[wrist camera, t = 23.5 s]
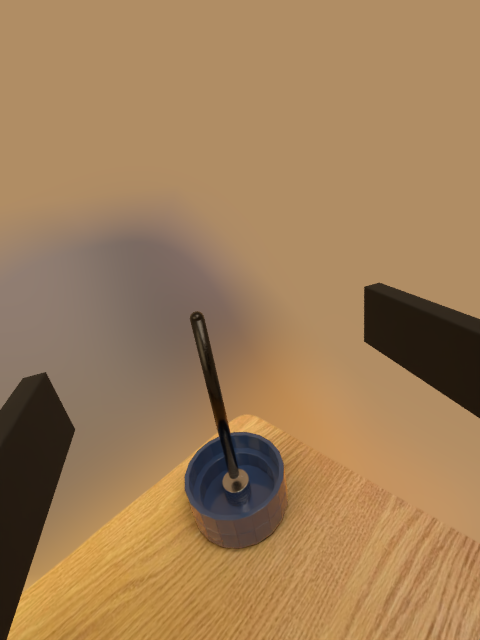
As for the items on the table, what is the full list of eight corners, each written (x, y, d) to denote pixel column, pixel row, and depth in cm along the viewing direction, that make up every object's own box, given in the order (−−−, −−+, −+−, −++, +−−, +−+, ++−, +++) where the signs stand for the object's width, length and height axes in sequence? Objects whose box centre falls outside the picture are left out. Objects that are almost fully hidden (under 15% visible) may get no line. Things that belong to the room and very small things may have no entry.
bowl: (306, 492, 35) (303, 461, 33) (242, 578, 28) (233, 546, 26) (240, 447, 42) (234, 419, 40) (176, 507, 35) (165, 478, 33)
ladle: (256, 489, 35) (220, 306, 26) (242, 511, 33) (196, 321, 24) (235, 478, 37) (194, 303, 28) (220, 499, 35) (170, 317, 25)
